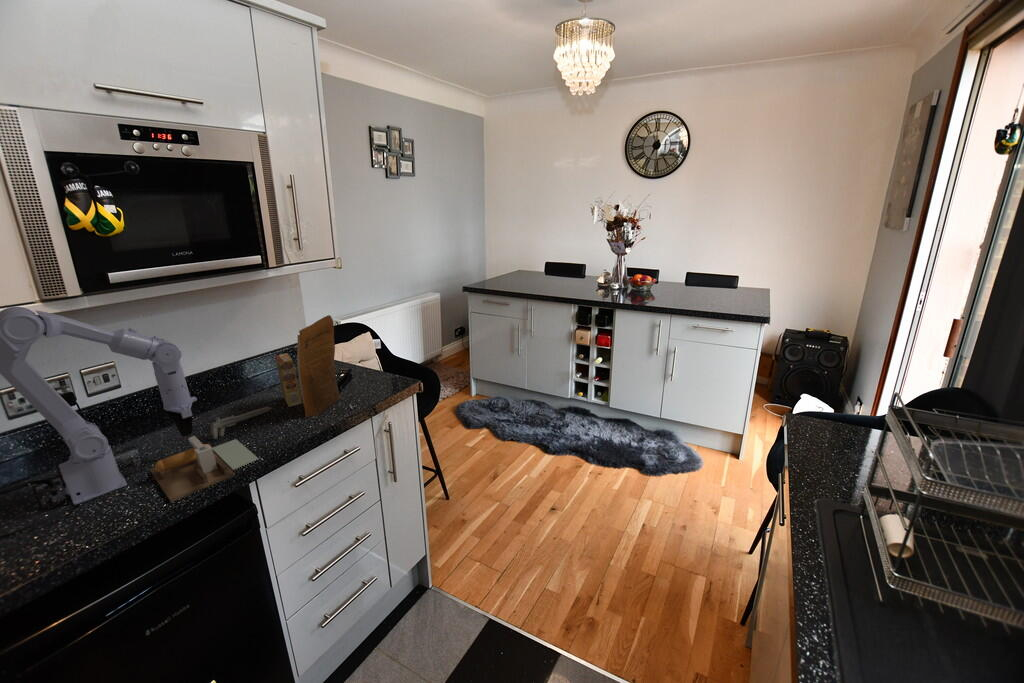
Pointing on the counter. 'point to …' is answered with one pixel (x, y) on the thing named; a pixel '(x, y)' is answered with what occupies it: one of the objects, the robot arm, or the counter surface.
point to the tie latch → (203, 455)
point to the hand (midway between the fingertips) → (187, 434)
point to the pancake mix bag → (317, 366)
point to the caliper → (232, 421)
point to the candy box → (288, 379)
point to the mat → (234, 454)
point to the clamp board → (190, 478)
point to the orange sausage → (176, 460)
